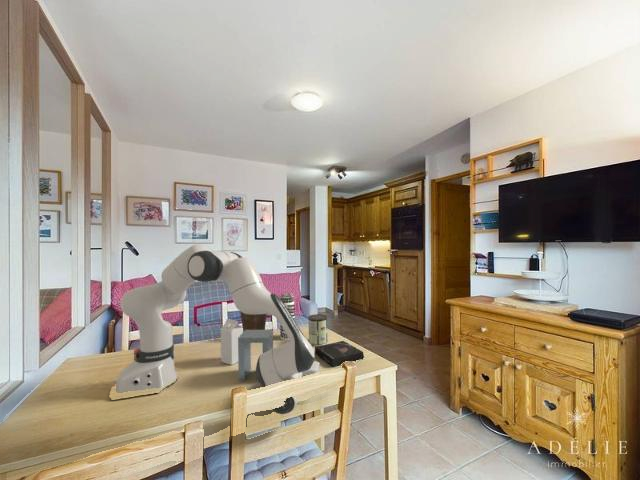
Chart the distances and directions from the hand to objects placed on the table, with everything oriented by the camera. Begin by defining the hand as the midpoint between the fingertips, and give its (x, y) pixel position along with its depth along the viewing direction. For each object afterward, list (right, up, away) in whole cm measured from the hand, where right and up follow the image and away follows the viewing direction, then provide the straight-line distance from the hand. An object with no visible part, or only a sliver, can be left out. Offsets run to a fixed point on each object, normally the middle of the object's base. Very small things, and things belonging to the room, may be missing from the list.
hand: (294, 360), depth 112 cm
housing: (-16, -8, +6) cm, 19 cm away
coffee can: (+9, -8, +41) cm, 43 cm away
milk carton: (-31, -9, +20) cm, 37 cm away
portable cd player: (+19, -9, +23) cm, 31 cm away
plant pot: (-28, -9, +53) cm, 61 cm away
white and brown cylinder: (-8, -8, +50) cm, 52 cm away
